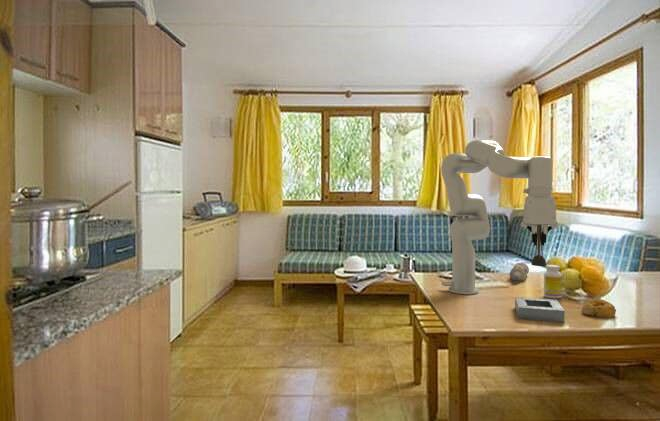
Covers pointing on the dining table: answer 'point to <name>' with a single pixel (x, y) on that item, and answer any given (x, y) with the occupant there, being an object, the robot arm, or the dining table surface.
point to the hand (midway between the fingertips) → (538, 244)
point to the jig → (539, 309)
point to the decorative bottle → (519, 272)
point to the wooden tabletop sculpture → (539, 259)
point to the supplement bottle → (552, 282)
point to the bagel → (599, 308)
